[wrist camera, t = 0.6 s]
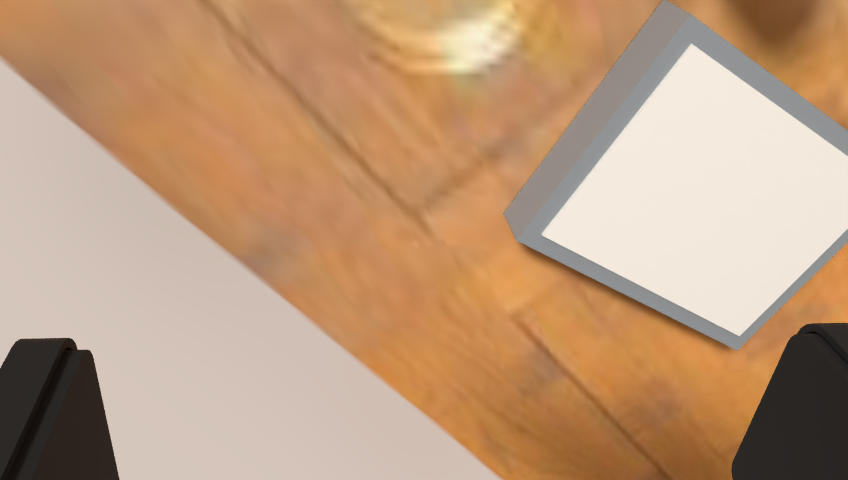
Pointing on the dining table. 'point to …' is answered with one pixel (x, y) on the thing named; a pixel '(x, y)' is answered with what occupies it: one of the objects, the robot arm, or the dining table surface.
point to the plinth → (692, 183)
